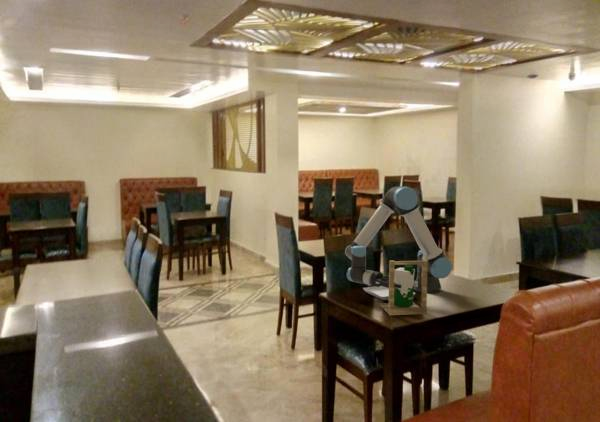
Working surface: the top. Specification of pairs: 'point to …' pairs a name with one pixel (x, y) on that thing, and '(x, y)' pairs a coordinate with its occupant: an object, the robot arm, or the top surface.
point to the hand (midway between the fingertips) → (412, 285)
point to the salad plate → (379, 292)
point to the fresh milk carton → (404, 277)
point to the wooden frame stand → (390, 306)
